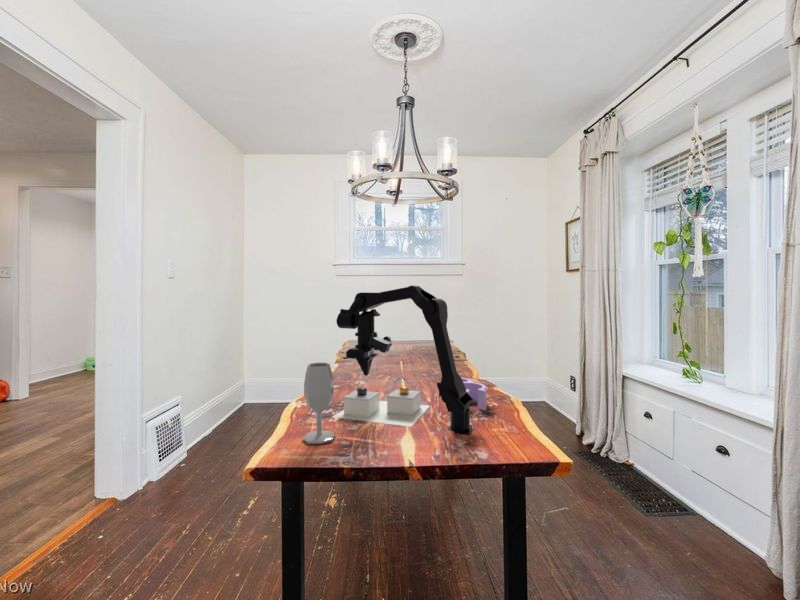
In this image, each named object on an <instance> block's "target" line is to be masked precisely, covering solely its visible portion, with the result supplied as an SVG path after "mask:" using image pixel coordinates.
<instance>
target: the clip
mask: <svg viewBox="0 0 800 600" xmlns="http://www.w3.org/2000/svg"><path fill="white" fill-rule="evenodd" d="M461 379H462V381H463V383H464V386H465V388H466V392H467V393H468V394H469V395H470V396H471V397H472V399H473V400H474V402H475V401H477V402H476V403H477V409H478V410H482V411H487V386H486V385H485V384H483V383H480V382H476V381H475V382H474V381H472V379H470V378H465V377H461Z"/></svg>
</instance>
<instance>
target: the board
mask: <svg viewBox="0 0 800 600" xmlns="http://www.w3.org/2000/svg"><path fill="white" fill-rule="evenodd" d="M379 404H380V409H379V410H378V411H376V412H375V413H374V414H373V415H371V416H370V417H362V416H353V415H345V414H344V409H342V410H340V411H339V412H338V413H336V414H334V415H333V416H332V418H337V419H343V420H344V419H345V420H353V421H361V422H369V423H377V424H386V425H392V426H393V425H395V426H400V427H410V428H412V427H413V426H414V425H415V423H417V421H418V420H419V419H420V418H421V417H422V415H424V413H426V411H427V410H428V409H429V408H430V405H428V404H427V405H426V404H421V408H420V409H419V410H418V411H417V412H416V413H415V414H414V415H413V416H409V415H400V414H391V413H387V400H379Z"/></svg>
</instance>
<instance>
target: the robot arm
mask: <svg viewBox="0 0 800 600" xmlns="http://www.w3.org/2000/svg"><path fill="white" fill-rule="evenodd" d="M404 300H412V302H413V303H414V304H415V306H416V307H418V308H419V309H420V310H421V312H422V314H423V317H424V319H425V322H426V323H427V325H428V326H429V328H430V329H431V332H432V336H433V341H434V347H435V350H436V355H437V359H438V363H439V368H440V369H439V370H440V373H441V377H440V378H441V379H440V380H439V381H437V382H436V386H437V389H438V393H439V394H438V397H439V398H441V400H442V402H443V403H445V407H446V409H447V412H448V413H450V425H449V426H448V428H447V431H450V432H454V433H457V434H458V433H459V434H463V435H464V434H465V435H469V434H471V432H472V430H473V425H472V424H471V422H470V421H471V415H470V414H471V410H470V408H471V407H473V404H474V402H475V401H474V400H473V399H472V397H471V396H470V395H469V394H468V393H467V392H466V388H465V386H464V383H463V381H462V379H461V378H462V377H461V376H460V375H459V373H458V372H457V368H456V363H455V359H454V355H453V354H454V352H453V350H452V345H451V344H452V343H451V340H450V336H449V330H448V327H447V324H448V323H447V322H448V317H449V316H448V315H449V314H448V305H447V302H446V301H445V300H444V299H442V298H437V297H436V296H434V295H433V294H431V293H430V292H428V291H426V290H425V289H423V288H422V287H421V286H420V285H408V286H405V287H402V288H394V289H391V290H386V291H380V292H379V291H378V292H375V291H374V292H373V291H371V292H369V291H368V292H358V293H356V294H355V296H354V300H353V302H352V304H351V305H350V306H349V308H341V309H339V313H338V314H337V318H336V325H337V327H338V328H339V329H350V330H355V329H357V332H355V333H354V334H355V335H354V336H355V337H357V344H355V345H354V346H355V347H352V348H348V350H347V351H346V352H345V358H346V359H355V360H356V361H357V363H358V366H360V367H359V368H360V369H361V371H362V373H363V376H364V377H365V376H366V377H367V376H369V374H370V370H371V366H372V362H373V359H375V358H376V357H377V356H378V355H379V354H378V353H375V351H379V352H381V353H383V354H385V353H387V352H389V351H390V348H391V347H392V344H393V343H392V339H391V337H390V336H388V335H386V336H384V337H379V336H378V333H377V331H375V317H380V316H381V314H380V312H378V311H377V309H376V308H377V307H380V306H382V305H384V304H388V303H392V302H399V301H404ZM368 310H370V311H368Z"/></svg>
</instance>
